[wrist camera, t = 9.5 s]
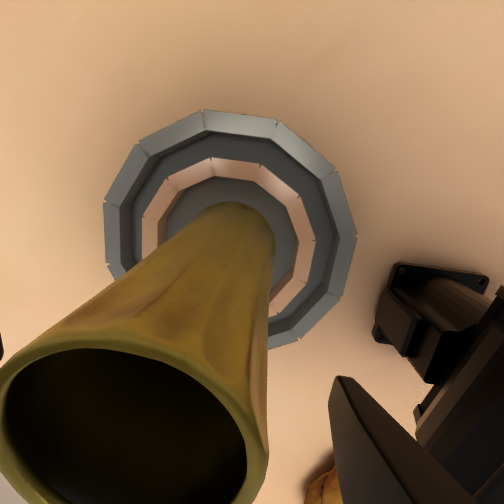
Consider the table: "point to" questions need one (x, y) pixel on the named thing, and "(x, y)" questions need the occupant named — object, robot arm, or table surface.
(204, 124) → the grooved tray
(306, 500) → the bread roll
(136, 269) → the vase
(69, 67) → the table surface
